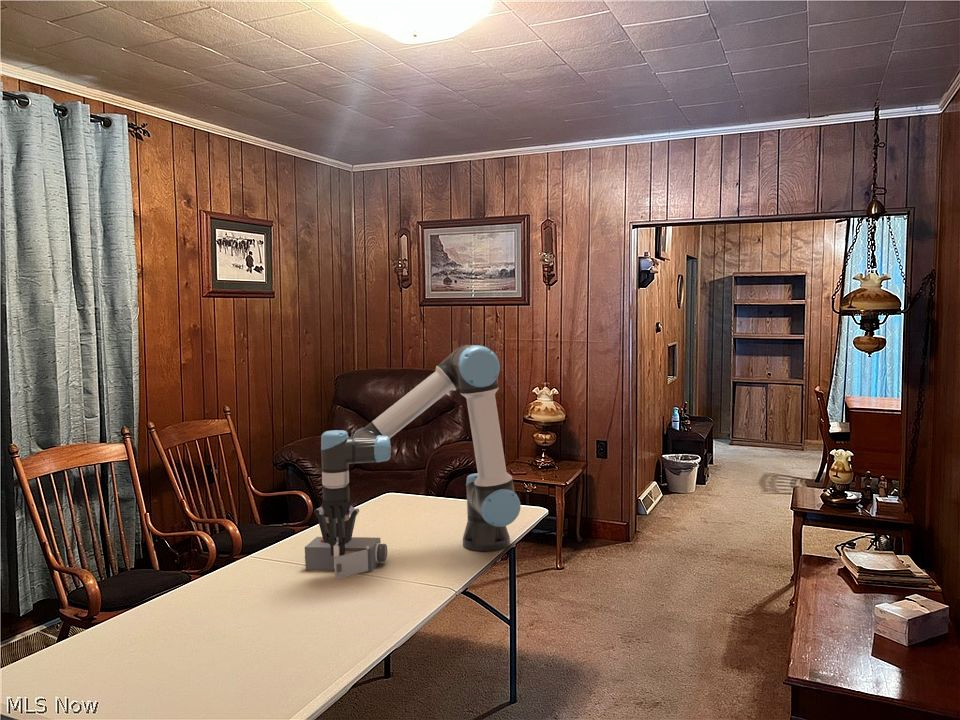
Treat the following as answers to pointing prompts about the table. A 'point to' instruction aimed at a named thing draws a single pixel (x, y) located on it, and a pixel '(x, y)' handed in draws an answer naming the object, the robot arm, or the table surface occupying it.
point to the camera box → (323, 561)
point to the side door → (351, 564)
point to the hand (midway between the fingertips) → (338, 566)
